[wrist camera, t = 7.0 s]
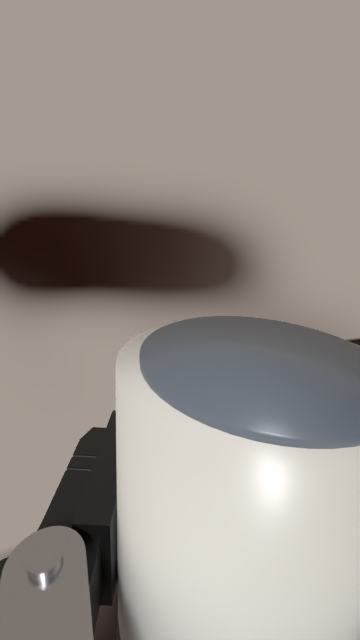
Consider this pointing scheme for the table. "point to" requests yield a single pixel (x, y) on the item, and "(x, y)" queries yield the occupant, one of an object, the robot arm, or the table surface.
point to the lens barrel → (238, 482)
